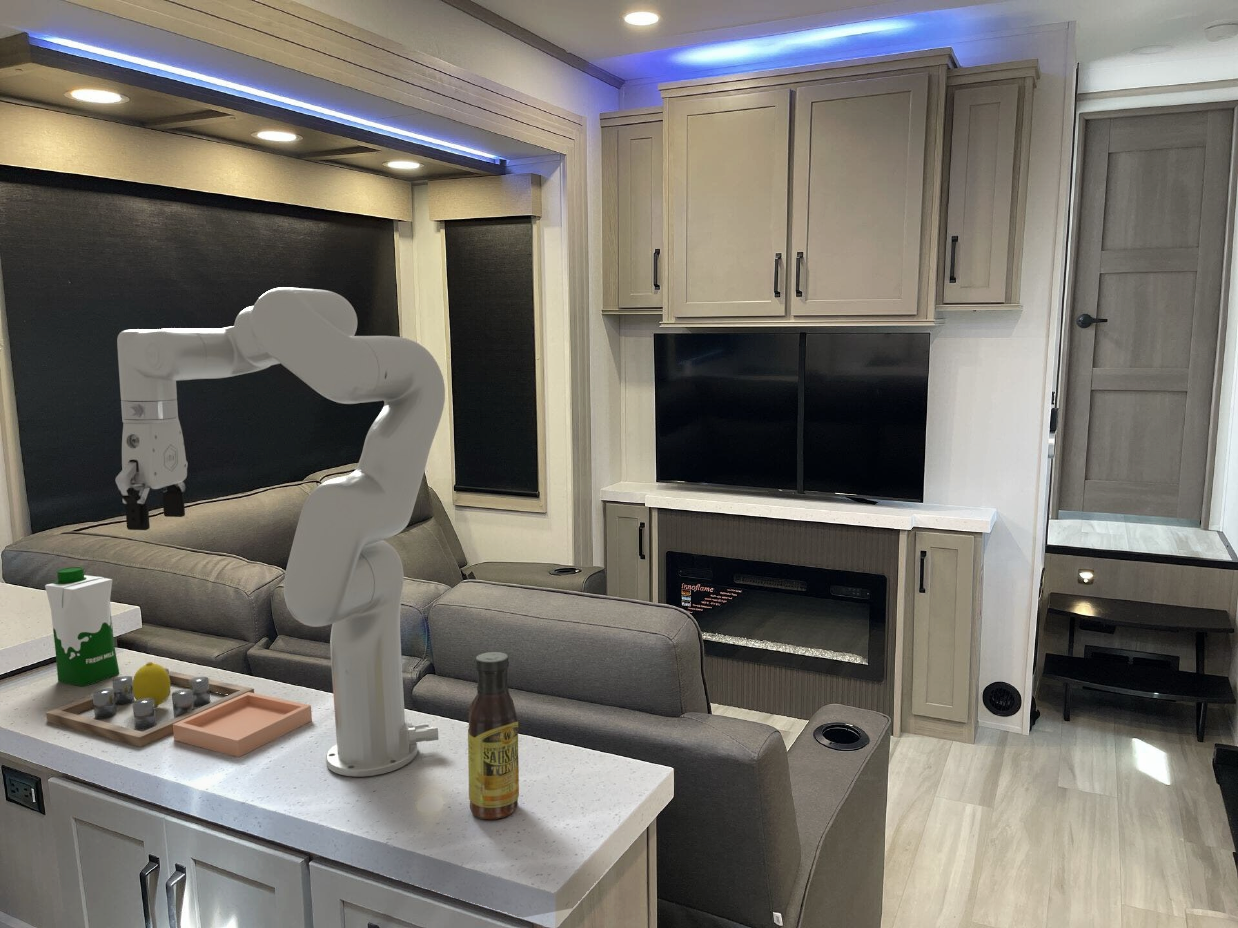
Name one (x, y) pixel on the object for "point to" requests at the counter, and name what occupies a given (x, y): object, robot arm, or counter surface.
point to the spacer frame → (70, 719)
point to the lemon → (151, 683)
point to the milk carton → (82, 627)
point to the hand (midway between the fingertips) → (157, 522)
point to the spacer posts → (148, 700)
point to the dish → (242, 723)
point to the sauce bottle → (493, 741)
